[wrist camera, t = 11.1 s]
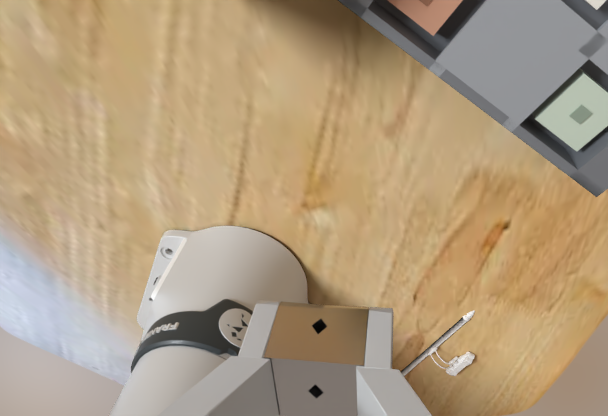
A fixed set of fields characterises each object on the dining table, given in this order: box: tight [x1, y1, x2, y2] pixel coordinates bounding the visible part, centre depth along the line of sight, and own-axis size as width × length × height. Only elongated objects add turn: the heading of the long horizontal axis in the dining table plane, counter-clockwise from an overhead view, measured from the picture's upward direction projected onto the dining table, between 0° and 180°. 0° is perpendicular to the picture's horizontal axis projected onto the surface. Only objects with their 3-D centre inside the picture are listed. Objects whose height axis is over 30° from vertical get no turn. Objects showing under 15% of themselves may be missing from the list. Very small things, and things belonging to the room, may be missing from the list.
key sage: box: [532, 68, 608, 151], centre depth 34 cm, size 4×4×2 cm
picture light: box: [401, 310, 475, 376], centre depth 55 cm, size 14×4×2 cm, turn 152°
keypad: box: [338, 0, 608, 197], centre depth 32 cm, size 14×24×5 cm, turn 56°
